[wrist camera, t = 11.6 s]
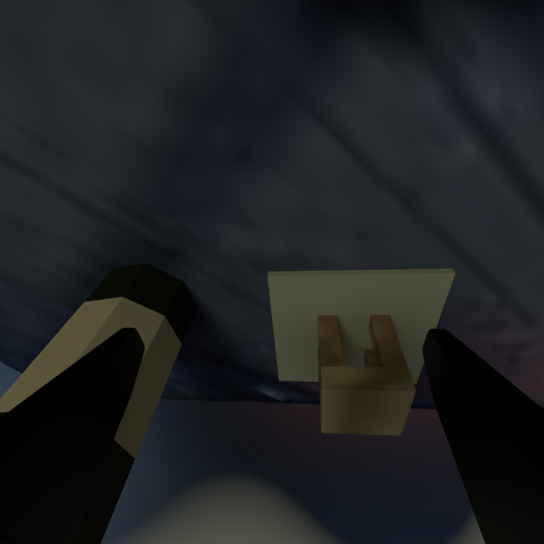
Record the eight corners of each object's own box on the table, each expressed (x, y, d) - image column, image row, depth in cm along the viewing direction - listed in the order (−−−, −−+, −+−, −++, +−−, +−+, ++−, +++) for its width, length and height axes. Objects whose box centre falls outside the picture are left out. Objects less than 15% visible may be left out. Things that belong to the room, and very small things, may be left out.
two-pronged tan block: (389, 314, 25) (415, 391, 19) (380, 359, 28) (400, 435, 23) (317, 315, 26) (322, 389, 20) (317, 359, 29) (321, 432, 23)
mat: (452, 268, 22) (455, 273, 22) (414, 378, 31) (416, 383, 30) (268, 271, 24) (267, 276, 23) (279, 375, 32) (279, 380, 32)
